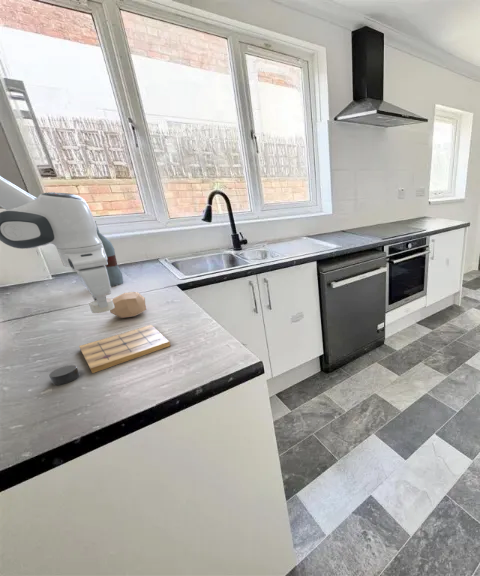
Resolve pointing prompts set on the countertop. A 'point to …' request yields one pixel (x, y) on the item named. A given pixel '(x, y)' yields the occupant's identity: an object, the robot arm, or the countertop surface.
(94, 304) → the cream stone
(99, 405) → the countertop surface
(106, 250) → the bottle
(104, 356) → the board
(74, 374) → the black stone
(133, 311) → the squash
